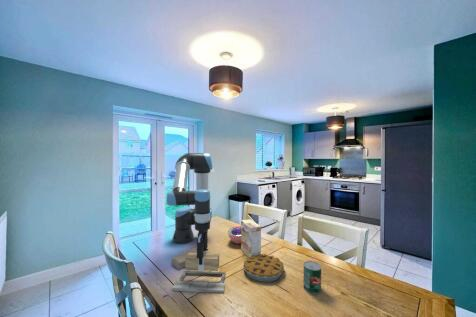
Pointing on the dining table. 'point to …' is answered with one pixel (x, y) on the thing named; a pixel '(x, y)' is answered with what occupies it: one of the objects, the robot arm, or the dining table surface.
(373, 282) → the dining table surface
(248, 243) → the coffeecake box
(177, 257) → the brick
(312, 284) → the canned tomato
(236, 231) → the cell model
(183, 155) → the robot arm
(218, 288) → the floor panel
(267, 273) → the pie
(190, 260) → the plank
